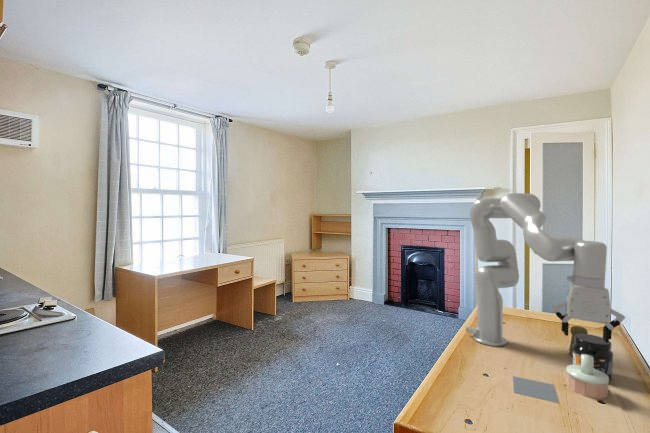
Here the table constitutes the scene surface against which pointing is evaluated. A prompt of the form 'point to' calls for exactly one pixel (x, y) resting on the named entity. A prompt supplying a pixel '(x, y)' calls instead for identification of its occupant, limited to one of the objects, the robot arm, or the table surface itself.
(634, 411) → the table surface
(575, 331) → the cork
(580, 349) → the supplement container
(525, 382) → the mat
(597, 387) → the bowl
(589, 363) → the lid
